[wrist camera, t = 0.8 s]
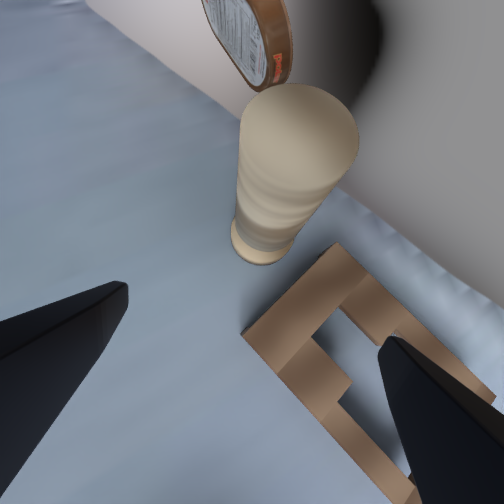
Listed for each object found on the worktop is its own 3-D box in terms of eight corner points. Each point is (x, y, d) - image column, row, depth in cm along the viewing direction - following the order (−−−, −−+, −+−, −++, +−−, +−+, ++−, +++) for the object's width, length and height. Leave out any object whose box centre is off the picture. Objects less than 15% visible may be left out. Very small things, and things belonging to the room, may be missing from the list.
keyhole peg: (260, 278, 22) (303, 220, 9) (218, 233, 23) (203, 123, 10) (303, 238, 24) (392, 139, 11) (261, 197, 24) (298, 58, 11)
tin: (284, 103, 28) (308, 13, 19) (260, 113, 27) (273, 24, 19) (220, 12, 30) (216, -100, 22) (196, 19, 30) (184, -94, 22)
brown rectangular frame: (460, 385, 21) (496, 396, 18) (386, 496, 19) (415, 528, 16) (323, 251, 23) (336, 241, 20) (240, 334, 21) (242, 336, 18)
